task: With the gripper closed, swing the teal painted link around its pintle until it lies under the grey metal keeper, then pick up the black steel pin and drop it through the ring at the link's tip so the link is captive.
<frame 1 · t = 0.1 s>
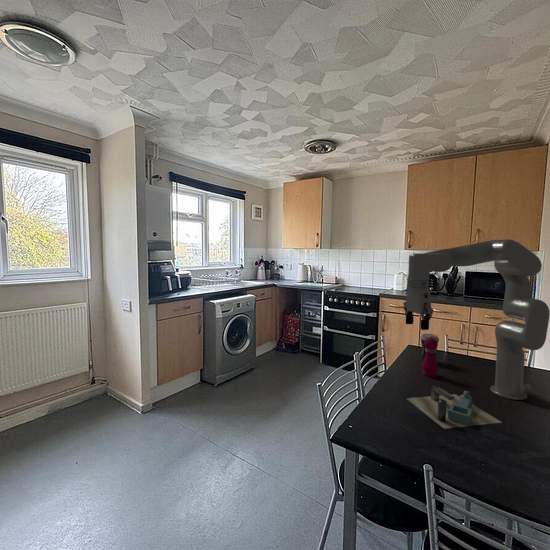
hand: (416, 326, 122), 31 cm above the table, tool pointing down, fingers open, 9 cm apart
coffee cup: (428, 362, 171), on the table
board: (450, 412, 116), on the table
pin: (441, 419, 109), point 1 cm above the table, touching board
pepper mill: (429, 375, 152), on the table
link: (463, 404, 114), point 4 cm above the table, hinge at 40.0°
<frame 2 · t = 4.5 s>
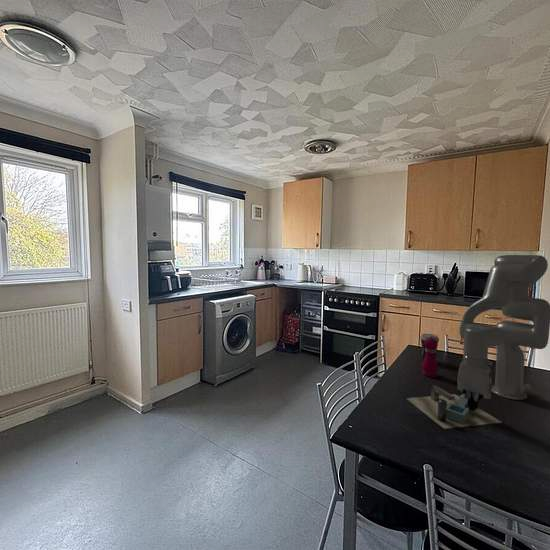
hand: (472, 409, 113), 3 cm above the table, tool pointing down, fingers closed
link: (461, 404, 114), point 4 cm above the table, hinge at 35.2°, touching gripper
everything else where it was.
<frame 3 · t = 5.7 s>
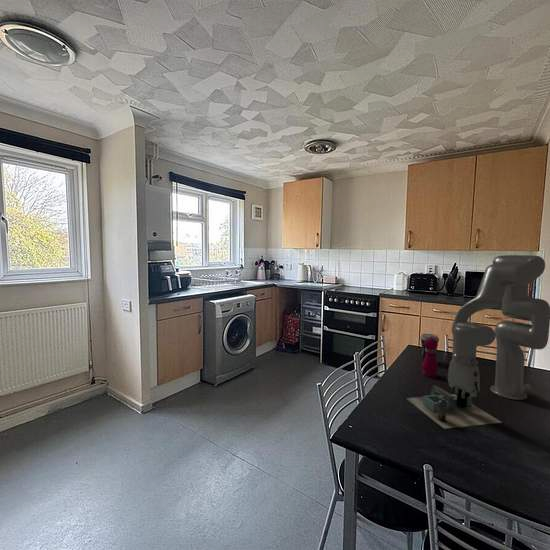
hand: (461, 406, 115), 3 cm above the table, tool pointing down, fingers closed
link: (449, 399, 118), point 4 cm above the table, hinge at -1.7°, touching gripper
everything else where it was.
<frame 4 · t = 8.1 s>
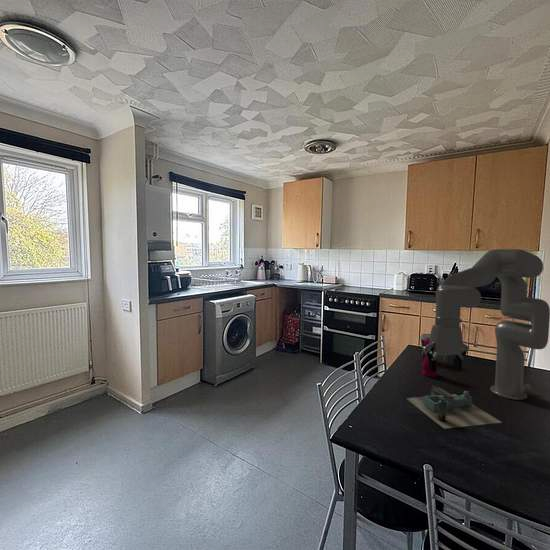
hand: (444, 370, 108), 19 cm above the table, tool pointing down, fingers open, 9 cm apart
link: (449, 399, 118), point 4 cm above the table, hinge at -1.0°
everything else where it was.
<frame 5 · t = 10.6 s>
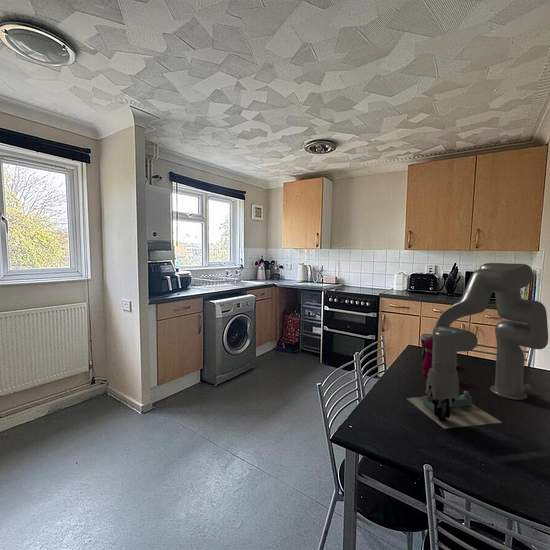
hand: (441, 416, 109), 3 cm above the table, tool pointing down, fingers closed on pin, 2 cm apart
pin: (441, 419, 109), point 1 cm above the table, touching board, gripper
everything else where it was.
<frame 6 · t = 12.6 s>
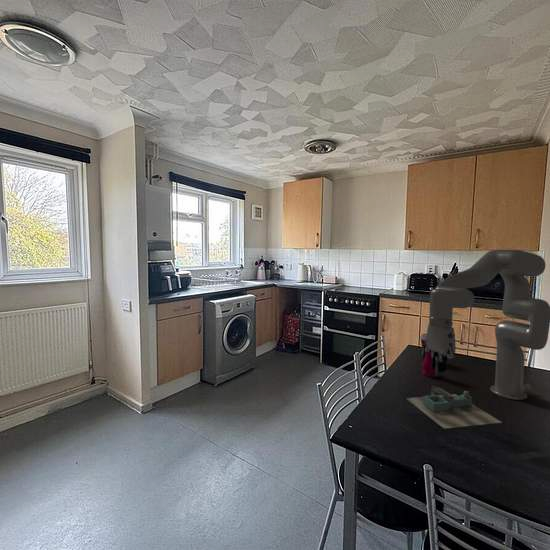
hand: (438, 369, 115), 17 cm above the table, tool pointing down, fingers closed on pin
pin: (438, 375, 115), point 15 cm above the table, touching gripper
everything else where it was.
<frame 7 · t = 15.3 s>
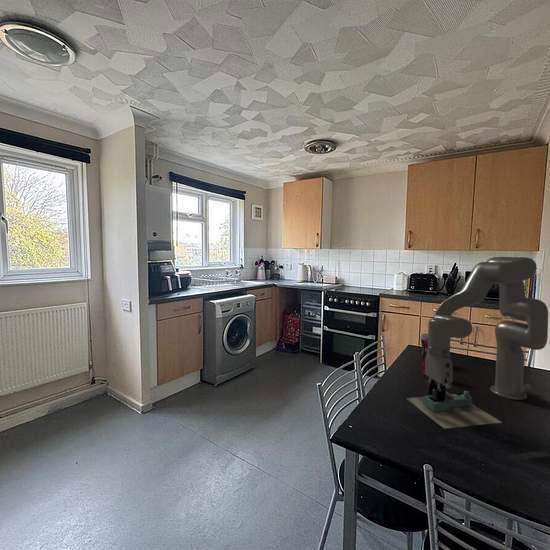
hand: (436, 397, 117), 5 cm above the table, tool pointing down, fingers open, 3 cm apart
pin: (435, 407, 118), point 1 cm above the table, touching board, gripper
everything else where it was.
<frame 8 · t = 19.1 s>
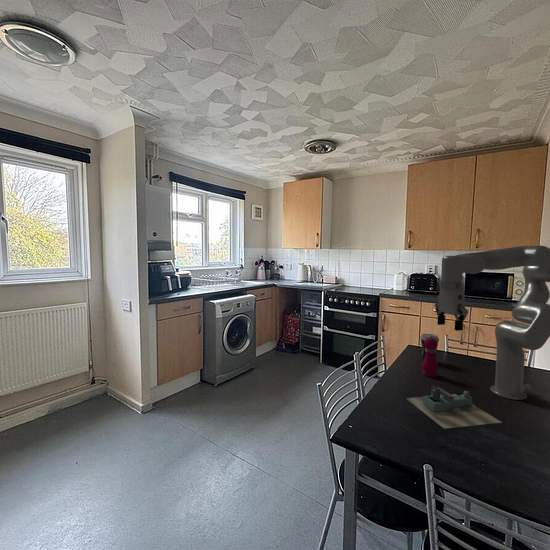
hand: (449, 327, 125), 30 cm above the table, tool pointing down, fingers open, 9 cm apart
pin: (435, 407, 118), point 1 cm above the table, touching board
everything else where it was.
at the end: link at -1° (first picture: +40°); pin 0.2 cm from the target spot, point 1.2 cm above the table; pin tilted 0° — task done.
